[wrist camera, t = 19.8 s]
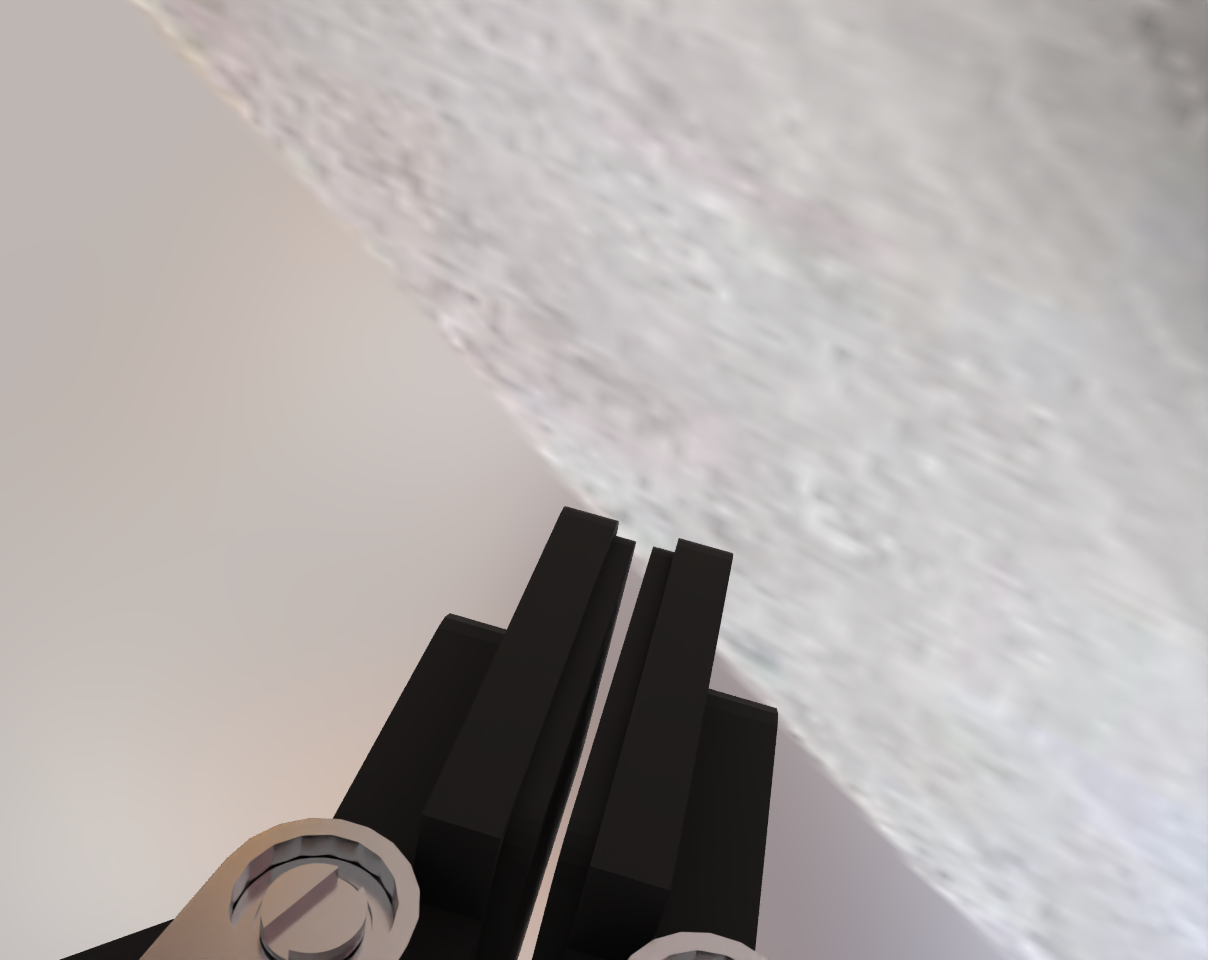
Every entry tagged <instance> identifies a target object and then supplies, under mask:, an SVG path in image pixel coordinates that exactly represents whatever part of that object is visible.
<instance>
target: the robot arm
mask: <svg viewBox="0 0 1208 960" xmlns="http://www.w3.org/2000/svg"><path fill="white" fill-rule="evenodd" d="M618 524H619V521H616V520H613V519H609V518H606V517H602V516H599V515H595V514H591V513H588V512H584V511H581V510H577V509H574V508H570V507H566V506H565V507H564V508H563V510H562V512H561V513H560V516H559V518H558V520H557V522H556V524H555V526H554V529H553V531H552V533H551V535H550V537H549V540H548V542H547V544H546V546H545V548H544V550H543V553H542V555H541V557H540V559H539V561H538V564H537V565H536V568H535V570H534V572H533V574H532V576H531V579H530V581H529V583H528V585H527V587H526V589H525V592H524V594H523V596H522V598H521V600H520V602H519V605H518V607H517V609H516V611H515V613H514V616H513V617H512V620H511V622H510V624H509V626H508V628H507V630H506V629H502V628H499V627H495V626H492V625H488V624H485V623H481V622H478V621H475V620H471V619H468V618H465V617H461V616H457V615H454V614H448V615H447V616H446V617H445V618H444V619H443V621H442V622H441V624H440V625H439V627H438V629H437V630H436V632H435V634H434V636H433V638H432V639H431V641H430V643H429V645H428V647H427V649H426V651H425V652H424V654H423V656H422V658H421V659H420V661H419V663H418V665H417V667H416V669H415V670H414V672H413V674H412V676H411V678H410V680H409V681H408V683H407V685H406V687H405V688H404V690H403V692H402V694H401V696H400V698H399V700H398V701H397V703H396V705H395V707H394V708H393V711H392V712H391V714H390V716H389V717H388V719H387V721H386V723H385V725H384V727H383V728H382V730H381V732H380V734H379V736H378V738H377V739H376V741H375V743H374V745H373V746H372V748H371V750H370V752H369V754H368V756H367V757H366V760H365V761H364V763H363V765H362V766H361V769H360V770H359V772H358V774H357V776H356V778H355V779H354V781H353V783H352V785H351V786H350V788H349V790H348V792H347V794H346V796H345V797H344V799H343V801H342V803H341V805H340V806H339V808H338V810H337V812H336V814H335V816H334V817H333V819H322V818H307V819H303V820H298V821H293V822H288V823H284V824H279V825H277V826H274V827H272V828H270V829H268V830H266V831H264V832H262V833H260V834H258V835H256V836H254V837H252V838H250V839H249V840H248V841H246V842H245V843H244V844H243V845H242V846H240V847H239V848H238V849H237V850H236V851H235V852H234V853H232V854H231V855H230V856H229V857H228V858H227V859H226V860H225V861H224V862H223V863H222V864H221V866H220V867H219V868H218V869H217V870H216V871H215V873H214V874H213V875H212V876H211V877H210V878H209V879H208V881H207V882H206V883H205V884H204V885H203V886H202V888H201V889H200V890H199V891H198V892H197V893H196V895H195V896H194V897H193V898H192V899H191V900H190V901H189V903H188V904H187V905H186V906H185V907H184V908H183V910H182V911H181V912H180V913H179V914H178V915H177V916H176V918H175V919H172V920H169V921H167V922H164V923H161V924H158V925H155V926H153V927H150V928H147V929H144V930H142V931H139V932H136V933H133V934H130V935H128V936H125V937H122V938H119V939H116V940H113V941H111V942H108V943H105V944H102V945H100V946H97V947H94V948H91V949H89V950H86V951H83V952H80V953H78V954H75V955H72V956H69V957H66V958H63V959H60V960H517V959H518V956H519V953H520V950H521V946H522V943H523V940H524V937H525V934H526V931H527V928H528V924H529V921H530V917H531V915H532V912H533V908H534V905H535V902H536V899H537V896H538V892H539V889H540V886H541V883H542V880H543V877H544V873H545V870H546V867H547V864H548V861H549V857H550V854H551V851H552V848H553V844H554V841H555V838H556V835H557V832H558V829H559V825H560V822H561V819H562V816H563V813H564V809H565V806H566V803H567V800H568V797H569V794H570V791H571V787H572V784H573V781H574V778H575V775H576V771H577V768H578V764H579V761H580V757H581V754H582V751H583V747H584V743H585V739H586V736H587V732H588V728H589V724H590V720H591V716H592V712H593V708H594V704H595V700H596V697H597V693H598V688H599V685H600V681H601V677H602V673H603V669H604V666H605V661H606V658H607V654H608V650H609V646H610V642H611V638H612V634H613V631H614V627H615V623H616V619H617V615H618V611H619V607H620V603H621V599H622V596H623V592H624V588H625V584H626V580H627V576H628V572H629V568H630V564H631V561H632V557H633V553H634V549H635V544H636V541H632V540H629V539H625V538H622V537H618V536H616V534H617V530H618ZM732 559H733V553H730V552H727V551H723V550H719V549H716V548H712V547H709V546H705V545H702V544H698V543H695V542H691V541H687V540H684V539H680V538H679V539H678V543H677V546H676V550H675V552H671V551H668V550H664V549H661V548H657V547H653V549H652V552H651V555H650V559H649V562H648V565H647V569H646V572H645V575H644V578H643V582H642V585H641V588H640V591H639V595H638V598H637V602H636V605H635V608H634V611H633V615H632V618H631V621H630V624H629V628H628V631H627V634H626V638H625V641H624V644H623V647H622V650H621V654H620V657H619V661H618V664H617V667H616V670H615V673H614V677H613V680H612V683H611V687H610V690H609V693H608V696H607V700H606V703H605V706H604V709H603V713H602V716H601V719H600V723H599V726H598V729H597V733H596V736H595V739H594V742H593V745H592V749H591V752H590V755H589V759H588V762H587V765H586V768H585V772H584V775H583V778H582V781H581V785H580V788H579V791H578V795H577V798H576V802H575V804H574V808H573V811H572V814H571V818H570V821H569V824H568V828H567V831H566V835H565V838H564V841H563V845H562V848H561V852H560V855H559V859H558V862H557V866H556V870H555V873H554V877H553V881H552V884H551V888H550V892H549V896H548V900H547V904H546V907H545V911H544V915H543V919H542V923H541V927H540V931H539V935H538V938H537V942H536V946H535V950H534V954H533V958H532V960H768V959H767V958H765V957H763V956H762V955H760V954H759V953H757V952H755V946H756V936H757V926H758V916H759V906H760V896H761V886H762V876H763V866H764V856H765V846H766V836H767V826H768V815H769V806H770V805H769V804H770V796H771V786H772V776H773V766H774V755H775V745H776V735H777V726H778V712H777V708H774V707H770V706H767V705H763V704H760V703H757V702H753V701H750V700H746V699H742V698H739V697H736V696H732V695H729V694H725V693H722V692H718V691H715V690H712V689H708V688H709V683H710V677H711V672H712V666H713V661H714V656H715V650H716V645H717V640H718V634H719V629H720V624H721V618H722V613H723V608H724V602H725V597H726V592H727V586H728V581H729V576H730V570H731V565H732Z"/></svg>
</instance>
